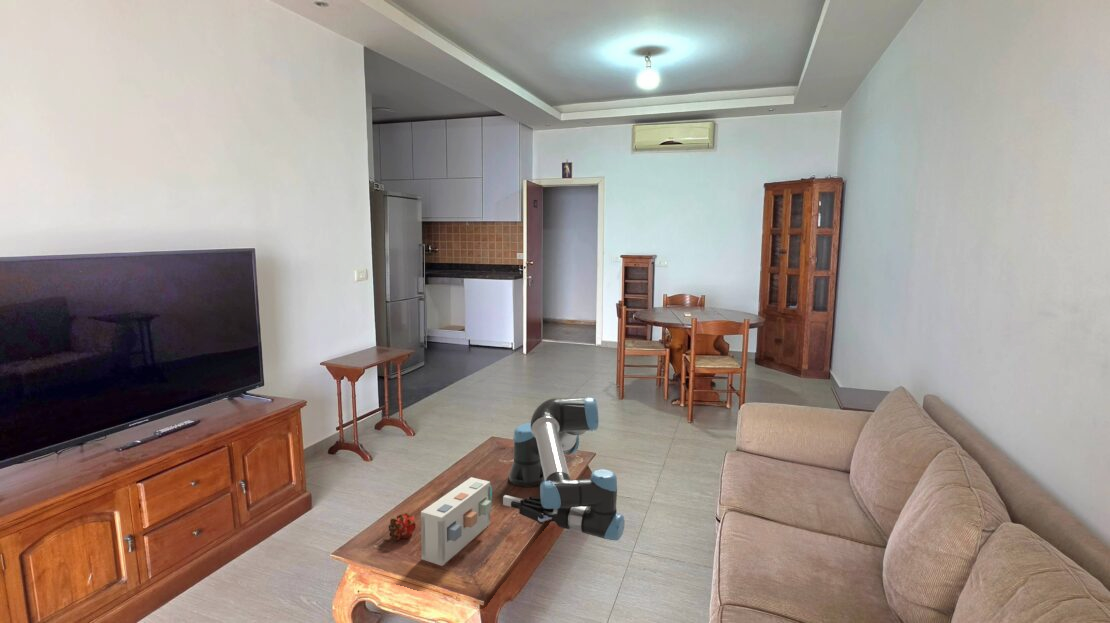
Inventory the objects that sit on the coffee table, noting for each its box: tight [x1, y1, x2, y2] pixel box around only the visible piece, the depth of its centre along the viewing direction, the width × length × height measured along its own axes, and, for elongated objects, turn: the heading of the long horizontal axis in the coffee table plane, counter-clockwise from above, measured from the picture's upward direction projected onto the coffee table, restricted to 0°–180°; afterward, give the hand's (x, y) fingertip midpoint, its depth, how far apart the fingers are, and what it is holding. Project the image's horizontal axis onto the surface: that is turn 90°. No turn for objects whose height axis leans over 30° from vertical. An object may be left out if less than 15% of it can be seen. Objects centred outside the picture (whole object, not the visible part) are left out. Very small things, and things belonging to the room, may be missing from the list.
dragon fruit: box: [388, 512, 417, 541], centre depth 187 cm, size 8×8×12 cm
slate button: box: [447, 523, 462, 541], centre depth 174 cm, size 4×5×4 cm
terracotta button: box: [463, 511, 477, 528], centre depth 182 cm, size 4×5×4 cm
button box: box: [420, 476, 491, 567], centre depth 184 cm, size 28×8×16 cm, turn 155°
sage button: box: [479, 499, 492, 515], centre depth 190 cm, size 4×5×4 cm
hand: (504, 499), depth 175 cm, fingers closed
